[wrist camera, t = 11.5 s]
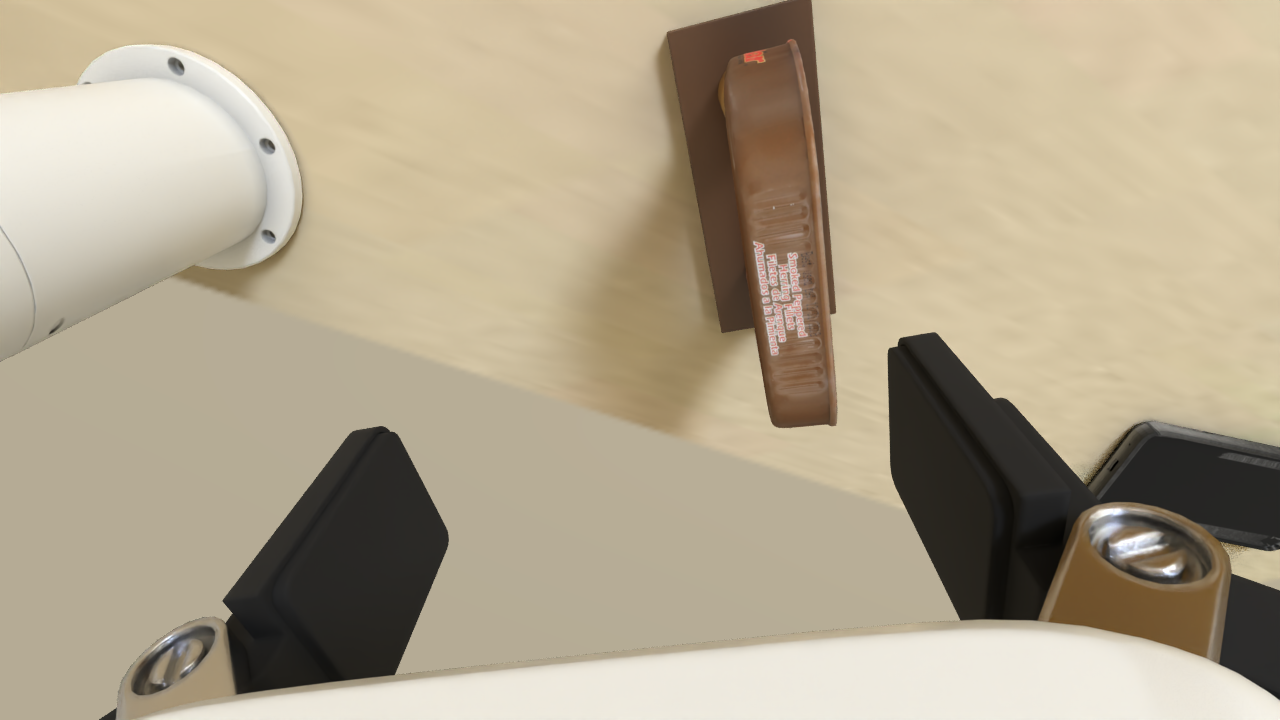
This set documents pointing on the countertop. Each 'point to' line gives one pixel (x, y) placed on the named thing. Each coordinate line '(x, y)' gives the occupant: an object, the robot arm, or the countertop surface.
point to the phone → (1198, 481)
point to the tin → (782, 232)
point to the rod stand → (701, 101)
